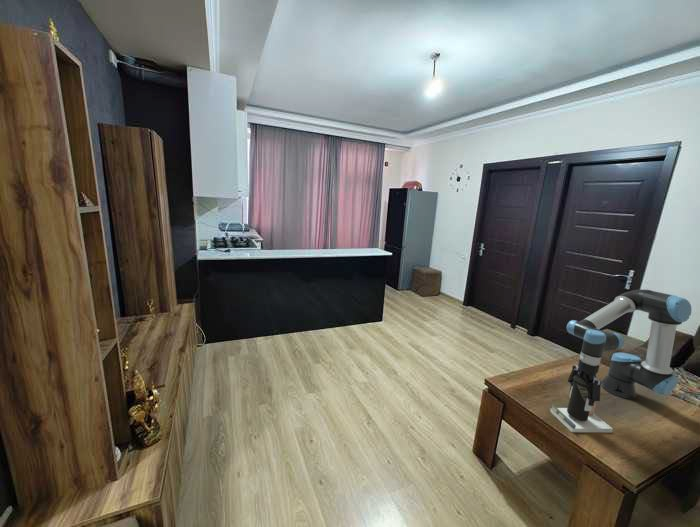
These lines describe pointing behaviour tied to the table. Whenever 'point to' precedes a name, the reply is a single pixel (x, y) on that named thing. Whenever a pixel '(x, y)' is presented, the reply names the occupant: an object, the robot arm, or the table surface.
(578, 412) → the container
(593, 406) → the peach rounded cylinder
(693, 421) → the table surface
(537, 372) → the table surface
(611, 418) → the table surface
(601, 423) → the thin white panel
